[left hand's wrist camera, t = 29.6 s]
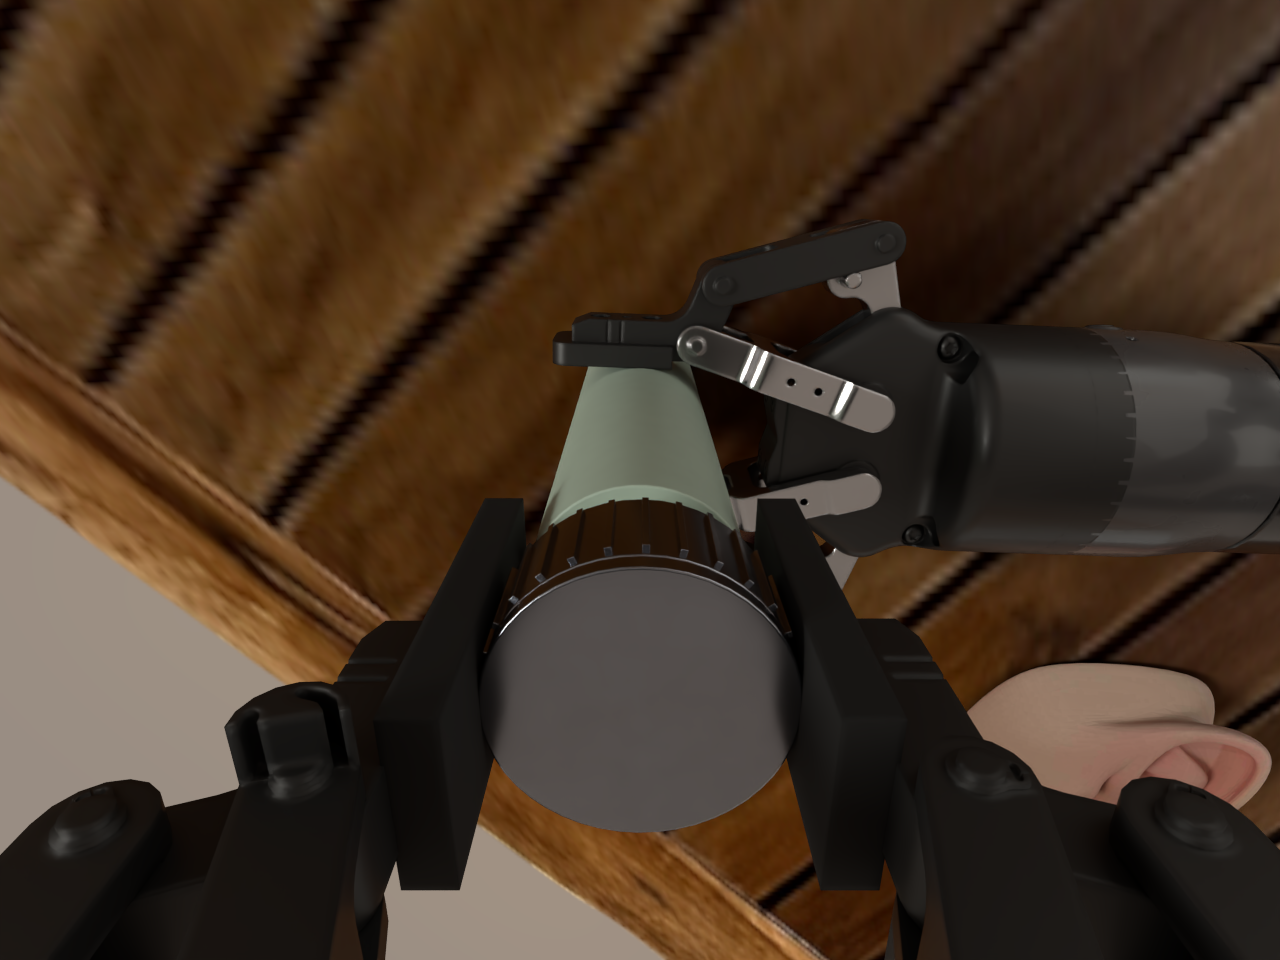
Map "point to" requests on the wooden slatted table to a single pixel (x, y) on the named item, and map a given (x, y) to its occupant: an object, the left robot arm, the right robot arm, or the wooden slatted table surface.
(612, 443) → the pale green tube
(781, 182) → the wooden slatted table surface
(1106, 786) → the anatomical model
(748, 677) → the lid
